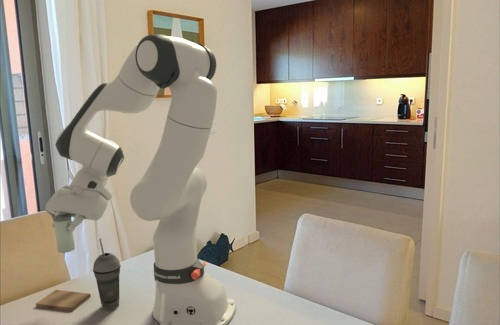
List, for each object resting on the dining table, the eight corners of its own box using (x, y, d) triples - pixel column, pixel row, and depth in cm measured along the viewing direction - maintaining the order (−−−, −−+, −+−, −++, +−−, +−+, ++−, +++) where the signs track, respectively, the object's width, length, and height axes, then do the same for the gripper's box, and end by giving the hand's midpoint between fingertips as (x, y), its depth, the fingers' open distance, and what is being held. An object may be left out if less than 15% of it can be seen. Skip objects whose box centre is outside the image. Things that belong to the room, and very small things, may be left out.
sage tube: (78, 247, 118) (74, 214, 116) (67, 253, 113) (63, 219, 112) (65, 246, 119) (61, 213, 117) (53, 252, 115) (49, 218, 113)
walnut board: (90, 296, 119) (90, 293, 119) (72, 311, 111) (72, 307, 111) (56, 292, 122) (55, 289, 122) (36, 306, 114) (35, 303, 114)
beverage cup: (115, 314, 109) (108, 244, 105) (91, 312, 110) (84, 243, 107) (129, 300, 116) (122, 234, 112) (106, 298, 117) (99, 233, 114)
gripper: (55, 179, 124) (29, 219, 117) (103, 184, 114) (79, 228, 108) (69, 190, 128) (45, 229, 122) (116, 196, 119) (94, 238, 112)
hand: (61, 229), depth 115 cm, fingers closed on sage tube, 4 cm apart
